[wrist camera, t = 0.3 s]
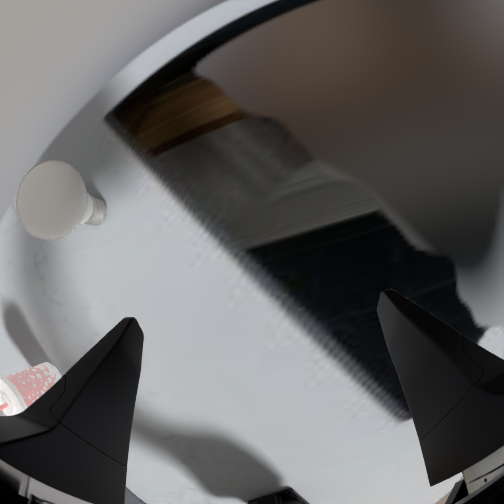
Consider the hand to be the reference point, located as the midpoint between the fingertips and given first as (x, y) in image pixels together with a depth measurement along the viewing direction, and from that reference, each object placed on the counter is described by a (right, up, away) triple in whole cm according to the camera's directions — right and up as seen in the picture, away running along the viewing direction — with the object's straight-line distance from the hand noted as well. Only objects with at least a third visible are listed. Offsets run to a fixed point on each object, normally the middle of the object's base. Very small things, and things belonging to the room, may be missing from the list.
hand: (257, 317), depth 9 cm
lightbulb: (-16, +6, +15) cm, 23 cm away
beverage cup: (-26, -14, +15) cm, 33 cm away
